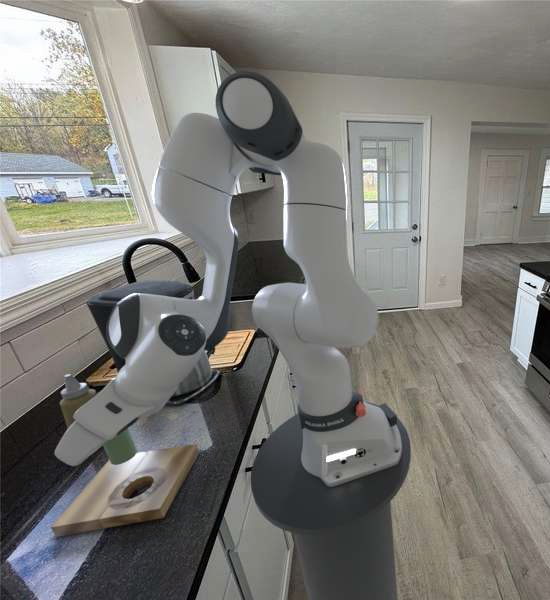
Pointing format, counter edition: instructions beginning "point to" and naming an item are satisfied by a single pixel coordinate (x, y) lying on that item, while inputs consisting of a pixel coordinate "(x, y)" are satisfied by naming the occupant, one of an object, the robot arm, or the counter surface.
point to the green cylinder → (120, 448)
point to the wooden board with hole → (128, 491)
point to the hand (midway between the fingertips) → (111, 432)
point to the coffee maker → (107, 300)
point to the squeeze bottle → (74, 398)
